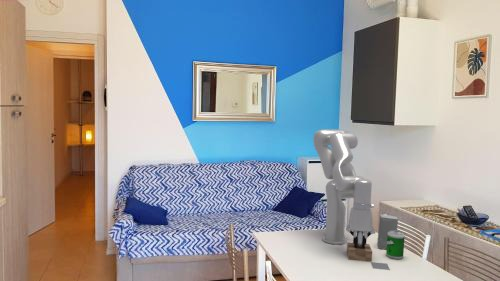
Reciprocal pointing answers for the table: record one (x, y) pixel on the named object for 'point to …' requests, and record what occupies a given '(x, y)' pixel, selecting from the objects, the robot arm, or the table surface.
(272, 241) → the table surface
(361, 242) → the peg
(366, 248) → the hole block
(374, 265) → the mat
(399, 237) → the soda can
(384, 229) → the skincare box
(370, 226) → the robot arm
